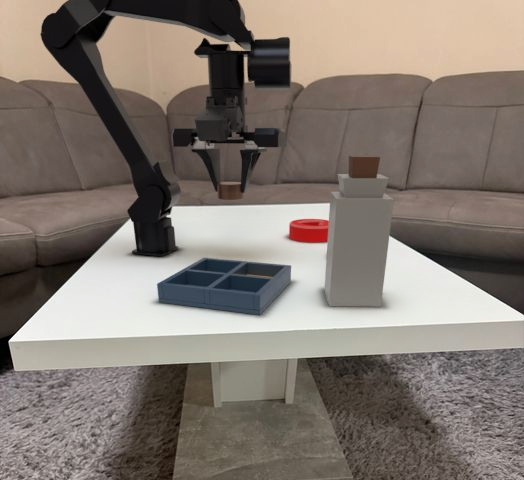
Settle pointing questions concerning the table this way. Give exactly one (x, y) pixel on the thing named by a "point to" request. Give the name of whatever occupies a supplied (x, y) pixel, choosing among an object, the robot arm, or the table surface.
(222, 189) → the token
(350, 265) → the perfume bottle
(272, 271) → the holder
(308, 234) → the red ring
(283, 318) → the table surface
